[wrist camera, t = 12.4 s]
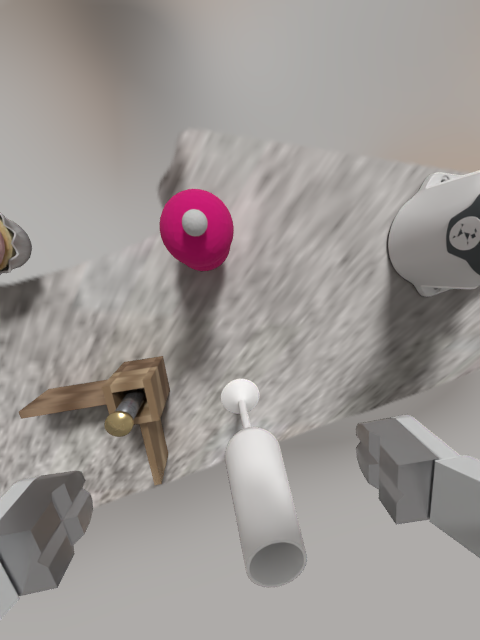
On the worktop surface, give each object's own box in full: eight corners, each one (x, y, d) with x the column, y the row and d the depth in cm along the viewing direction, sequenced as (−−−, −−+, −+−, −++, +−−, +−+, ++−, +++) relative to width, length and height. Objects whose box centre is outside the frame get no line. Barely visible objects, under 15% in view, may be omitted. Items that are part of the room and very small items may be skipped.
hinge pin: (149, 376, 35) (129, 411, 27) (153, 394, 36) (134, 434, 28) (128, 379, 35) (101, 415, 27) (132, 397, 36) (108, 438, 27)
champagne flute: (249, 418, 43) (295, 602, 19) (214, 406, 41) (218, 589, 18) (265, 386, 42) (334, 539, 18) (230, 373, 40) (256, 519, 17)
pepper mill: (233, 226, 35) (259, 178, 16) (222, 275, 37) (234, 286, 17) (183, 213, 34) (146, 144, 15) (174, 264, 35) (129, 262, 16)
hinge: (76, 470, 41) (44, 518, 33) (43, 374, 37) (-2, 403, 29) (182, 451, 42) (176, 492, 35) (162, 356, 38) (150, 379, 31)
